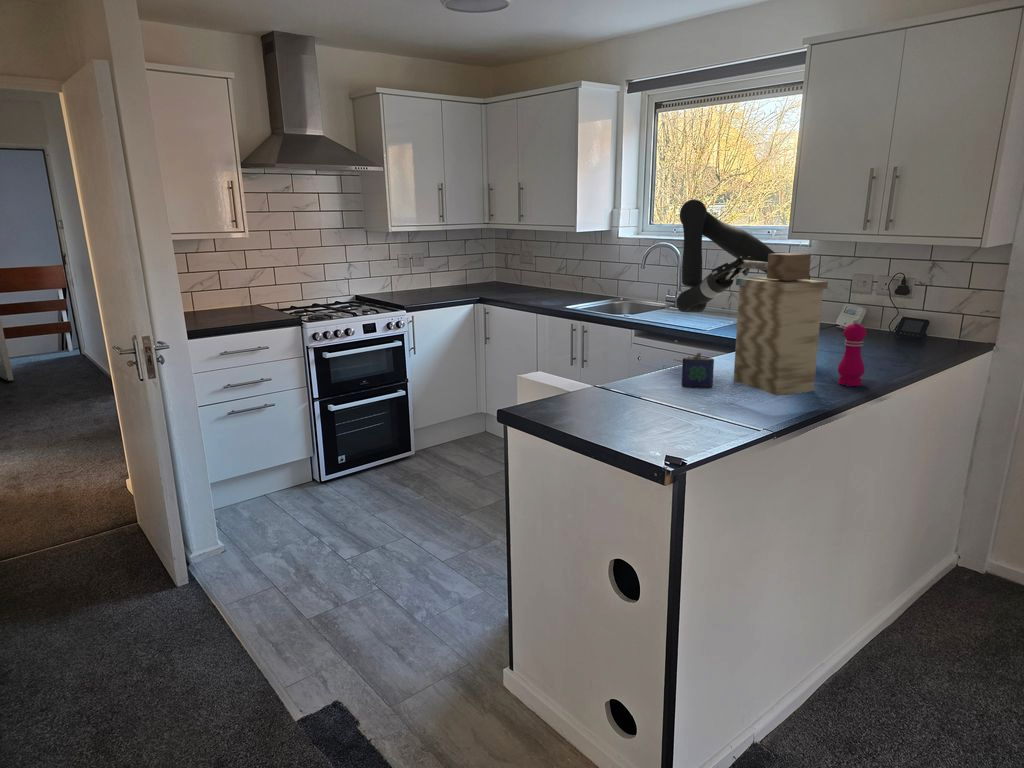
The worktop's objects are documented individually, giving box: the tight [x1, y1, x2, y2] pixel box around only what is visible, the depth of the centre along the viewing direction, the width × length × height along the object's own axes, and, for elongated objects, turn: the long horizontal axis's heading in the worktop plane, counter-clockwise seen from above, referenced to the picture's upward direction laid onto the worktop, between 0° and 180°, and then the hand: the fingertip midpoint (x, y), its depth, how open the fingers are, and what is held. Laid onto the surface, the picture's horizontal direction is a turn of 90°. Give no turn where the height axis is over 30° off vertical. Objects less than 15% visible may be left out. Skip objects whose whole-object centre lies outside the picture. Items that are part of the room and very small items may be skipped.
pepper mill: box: [837, 318, 867, 387], centre depth 197 cm, size 7×7×20 cm
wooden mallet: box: [732, 252, 812, 281], centre depth 197 cm, size 28×8×7 cm, turn 18°
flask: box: [681, 352, 715, 389], centre depth 198 cm, size 9×3×11 cm, turn 78°
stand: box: [733, 276, 829, 396], centre depth 195 cm, size 22×14×32 cm, turn 18°
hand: (746, 259), depth 205 cm, fingers closed on wooden mallet, 2 cm apart
